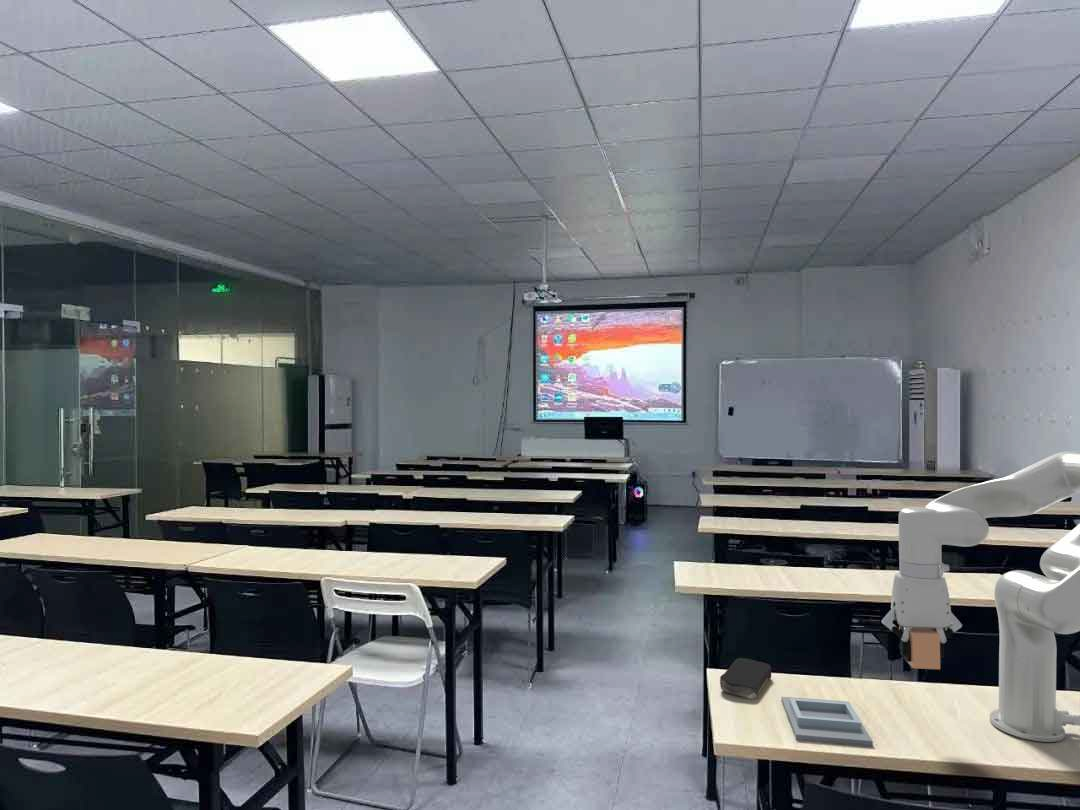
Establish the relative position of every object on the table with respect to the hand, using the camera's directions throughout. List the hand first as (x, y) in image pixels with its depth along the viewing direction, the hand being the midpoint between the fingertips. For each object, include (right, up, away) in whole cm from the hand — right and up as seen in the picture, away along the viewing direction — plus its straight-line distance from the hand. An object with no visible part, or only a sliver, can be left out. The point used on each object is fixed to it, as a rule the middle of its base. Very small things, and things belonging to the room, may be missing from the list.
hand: (921, 659), depth 142 cm
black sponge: (-29, -15, +22) cm, 39 cm away
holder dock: (-18, -14, +3) cm, 23 cm away
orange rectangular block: (0, -1, 0) cm, 1 cm away
